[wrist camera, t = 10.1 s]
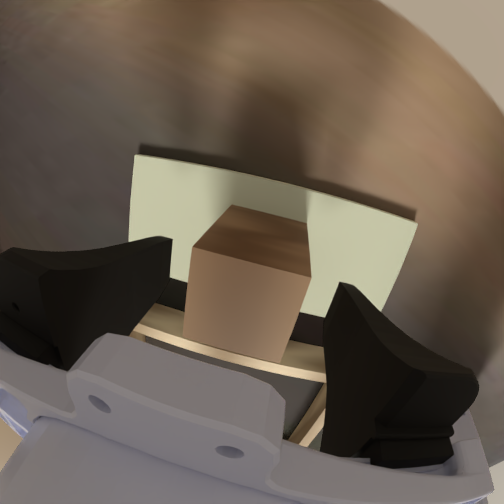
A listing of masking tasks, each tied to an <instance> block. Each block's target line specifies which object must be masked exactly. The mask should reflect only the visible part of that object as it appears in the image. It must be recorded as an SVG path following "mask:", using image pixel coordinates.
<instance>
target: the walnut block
mask: <svg viewBox="0 0 504 504" xmlns="http://www.w3.org/2000/svg"><path fill="white" fill-rule="evenodd" d="M311 278H312V276H311V263H310V251H309V239H308V228H307V223H304V222H300V221H296V220H293V219H289V218H285V217H281V216H277V215H273V214H269V213H265V212H261V211H257V210H253V209H249V208H245V207H241V206H236V205H231V206H230V207H229V208H228V209H227V210H226V211H225V212H224V213H223V214H222V215H221V216H220V217H219V218H218V219H217V220H216V221H215V223H214V224H213V225H212V226H211V227H210V228H209V229H208V230H207V231H206V232H205V233H204V234H203V235H202V237H201V238H200V239H199V240H198V241H197V242H196V243H195V244H194V245H193V246H192V252H191V259H190V268H189V276H188V285H187V294H186V304H185V314H184V325H183V337H185V338H188V339H191V340H194V341H198V342H201V343H204V344H208V345H211V346H214V347H218V348H221V349H225V350H229V351H232V352H236V353H240V354H243V355H247V356H251V357H255V358H259V359H263V360H268V361H272V362H276V363H280V361H281V359H282V356H283V354H284V351H285V349H286V346H287V343H288V341H289V338H290V336H291V333H292V330H293V328H294V325H295V323H296V320H297V317H298V315H299V312H300V309H301V306H302V304H303V301H304V298H305V295H306V292H307V290H308V287H309V284H310V281H311Z"/></svg>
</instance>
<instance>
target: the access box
mask: <svg viewBox="0 0 504 504" xmlns="http://www.w3.org/2000/svg"><path fill="white" fill-rule="evenodd" d="M184 314H185V312H183V311H180V310H176V309H173V308H170V307H167V306H164V305H161V304H158V303H154V305H153V306H152V307H151V308H150V310H149V311H148V312H147V313H146V315H145V316H144V317H143V318H142V320H141V321H140V322H139V323H138V325H137V326H136V327H135V328H134V330H133V331H132V332H131V334H130V335H129V337H132V338H135V339H137V340H140V341H143V342H145V343H146V341H145V335H147V336H150V337H152V338H155V339H158V340H161V341H164V342H167V343H170V344H173V345H176V346H179V347H182V348H185V349H188V350H191V351H194V352H198V353H201V354H204V355H208V356H211V357H214V358H218V359H222V360H225V361H229V362H233V363H236V364H240V365H244V366H248V367H252V368H256V369H260V370H265V371H269V372H273V373H278V374H283V375H287V376H292V377H297V378H302V379H308V380H313V381H319V382H324V384H323V386H322V388H321V389H320V391H319V393H318V394H317V396H316V398H315V399H314V401H313V403H312V404H311V406H310V407H309V409H308V411H307V412H306V414H305V415H304V417H303V418H302V420H301V421H300V423H299V424H298V426H297V427H296V429H295V430H294V432H293V433H292V435H291V436H290V438H289V439H288V441H290V442H293V443H295V444H298V445H301V446H304V447H307V446H308V445H309V444H310V442H311V441H312V440H313V439H314V437H315V436H316V435H317V434H318V432H319V431H320V430H321V429H322V427H323V426H324V418H325V407H326V392H327V386H326V370H325V359H324V348H323V347H320V346H315V345H310V344H306V343H301V342H296V341H292V340H289V341H288V343H287V346H286V349H285V351H284V354H283V356H282V359H281V361H280V363H276V362H272V361H268V360H263V359H259V358H255V357H251V356H247V355H243V354H240V353H236V352H232V351H229V350H225V349H221V348H218V347H214V346H211V345H208V344H204V343H201V342H198V341H194V340H191V339H188V338H185V337H183V325H184Z"/></svg>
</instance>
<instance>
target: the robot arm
mask: <svg viewBox="0 0 504 504" xmlns="http://www.w3.org/2000/svg"><path fill="white" fill-rule="evenodd" d="M172 244H173V239H171V238H167V237H164V236H153V237H148V238H144V239H140V240H136V241H132V242H128V243H123V244H119V245H114V246H110V247H105V248H99V249H92V250H84V251H67V252H50V251H36V250H28V249H21V248H15V247H13V248H10V249H8V250H6V251H4V252H3V253H1V254H0V417H1V418H2V419H3V420H4V421H5V422H6V423H7V424H8V425H9V426H10V427H11V428H12V429H13V430H14V431H15V432H16V433H17V434H19V435H20V436H21V437H22V438H23V440H22V441H21V443H20V444H19V445H18V447H17V448H16V450H15V451H14V453H13V454H12V456H11V457H10V458H9V460H8V461H7V463H6V464H5V466H4V468H3V469H2V470H1V472H0V504H488V501H487V496H488V495H489V494H491V493H492V492H493V491H494V486H493V482H492V478H491V474H490V471H489V467H488V464H487V460H486V457H485V454H484V451H483V448H482V444H481V441H480V438H479V435H478V432H477V429H476V427H475V424H474V421H473V419H472V416H471V413H470V411H469V407H470V406H471V405H472V404H473V402H474V401H475V399H476V397H477V395H478V391H479V384H478V381H477V379H476V377H475V375H474V373H473V371H472V370H471V369H469V368H467V367H464V366H462V365H459V364H457V363H454V362H452V361H449V360H447V359H445V358H443V357H441V356H440V355H438V354H436V353H434V352H432V351H430V350H429V349H427V348H425V347H424V346H422V345H421V344H419V343H418V342H416V341H415V340H413V339H412V338H410V337H409V336H408V335H406V334H405V333H404V332H403V331H401V330H400V329H399V328H398V327H396V326H395V325H394V324H393V323H392V322H391V321H390V320H389V319H388V318H386V317H385V316H384V315H383V314H382V313H381V312H380V311H379V310H378V309H377V308H376V307H375V306H374V305H373V304H372V303H371V302H370V300H369V299H368V298H367V297H366V296H365V295H364V294H363V293H362V292H361V291H360V290H359V289H358V288H356V287H355V286H354V285H352V284H348V283H344V282H340V281H339V284H338V287H337V289H336V292H335V294H334V297H333V299H332V302H331V304H330V307H329V309H328V312H327V314H326V316H325V319H324V325H323V348H324V359H325V370H326V386H327V392H326V407H325V418H324V427H323V434H322V441H321V447H320V451H317V450H314V449H310V448H307V447H304V446H301V445H298V444H295V443H293V442H290V441H287V440H284V439H282V437H283V428H284V419H285V400H284V399H283V398H282V397H281V396H280V394H279V393H278V392H277V391H276V390H275V389H274V388H273V387H272V386H271V385H270V384H268V383H265V382H263V381H261V380H258V379H256V378H254V377H251V376H249V375H247V374H245V373H241V372H237V371H233V370H229V369H226V368H222V367H219V366H215V365H212V364H208V363H205V362H201V361H198V360H195V359H192V358H189V357H186V356H182V355H179V354H176V353H173V352H171V351H168V350H165V349H162V348H159V347H156V346H153V345H151V344H148V343H145V342H143V341H140V340H137V339H135V338H132V337H129V335H130V334H131V332H132V331H133V330H134V328H135V327H136V326H137V325H138V323H139V322H140V321H141V320H142V318H143V317H144V316H145V315H146V313H147V312H148V311H149V310H150V308H151V307H152V306H153V305H154V303H155V302H156V301H157V300H158V298H159V297H160V296H161V294H162V292H163V291H164V289H165V287H166V285H167V284H168V282H169V280H170V267H171V255H172Z"/></svg>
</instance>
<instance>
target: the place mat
mask: <svg viewBox="0 0 504 504" xmlns="http://www.w3.org/2000/svg"><path fill="white" fill-rule="evenodd" d="M231 205H236V206H241V207H245V208H249V209H253V210H257V211H261V212H265V213H269V214H273V215H277V216H281V217H285V218H289V219H293V220H296V221H300V222H304V223H307V228H308V239H309V251H310V263H311V276H312V278H311V281H310V284H309V287H308V290H307V292H306V295H305V298H304V301H303V304H302V306H301V309H300V312H303V313H307V314H312V315H316V316H320V317H325V316H326V314H327V312H328V309H329V307H330V304H331V302H332V299H333V297H334V294H335V292H336V289H337V287H338V284H339V281H340V282H344V283H348V284H352V285H354V286H355V287H356V288H358V289H359V290H360V291H361V292H362V293H363V294H364V295H365V296H366V297H367V298H368V299H369V300H370V302H371V303H372V304H373V305H374V306H375V307H376V308H377V309H378V310H379V311H380V312H381V310H382V308H383V306H384V304H385V302H386V300H387V298H388V296H389V294H390V292H391V289H392V287H393V285H394V283H395V281H396V278H397V276H398V274H399V271H400V269H401V267H402V264H403V262H404V259H405V257H406V255H407V252H408V250H409V247H410V244H411V242H412V239H413V237H414V234H415V231H416V228H417V226H418V223H416V222H415V221H413V220H410V219H407V218H404V217H401V216H398V215H395V214H392V213H389V212H386V211H383V210H380V209H377V208H374V207H371V206H367V205H364V204H361V203H358V202H354V201H351V200H347V199H344V198H341V197H337V196H334V195H330V194H327V193H323V192H319V191H316V190H312V189H308V188H304V187H301V186H297V185H293V184H289V183H285V182H281V181H277V180H272V179H268V178H264V177H260V176H255V175H251V174H246V173H242V172H237V171H232V170H227V169H222V168H217V167H212V166H207V165H202V164H197V163H191V162H185V161H180V160H174V159H168V158H161V157H155V156H148V155H141V154H138V155H135V159H134V168H133V178H132V190H131V204H130V221H129V242H132V241H136V240H140V239H144V238H148V237H153V236H164V237H167V238H171V239H173V244H172V255H171V267H170V277H171V278H174V279H177V280H181V281H184V282H188V276H189V268H190V259H191V252H192V246H193V245H194V244H195V243H196V242H197V241H198V240H199V239H200V238H201V237H202V235H203V234H204V233H205V232H206V231H207V230H208V229H209V228H210V227H211V226H212V225H213V224H214V223H215V221H216V220H217V219H218V218H219V217H220V216H221V215H222V214H223V213H224V212H225V211H226V210H227V209H228V208H229V207H230V206H231Z"/></svg>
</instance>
